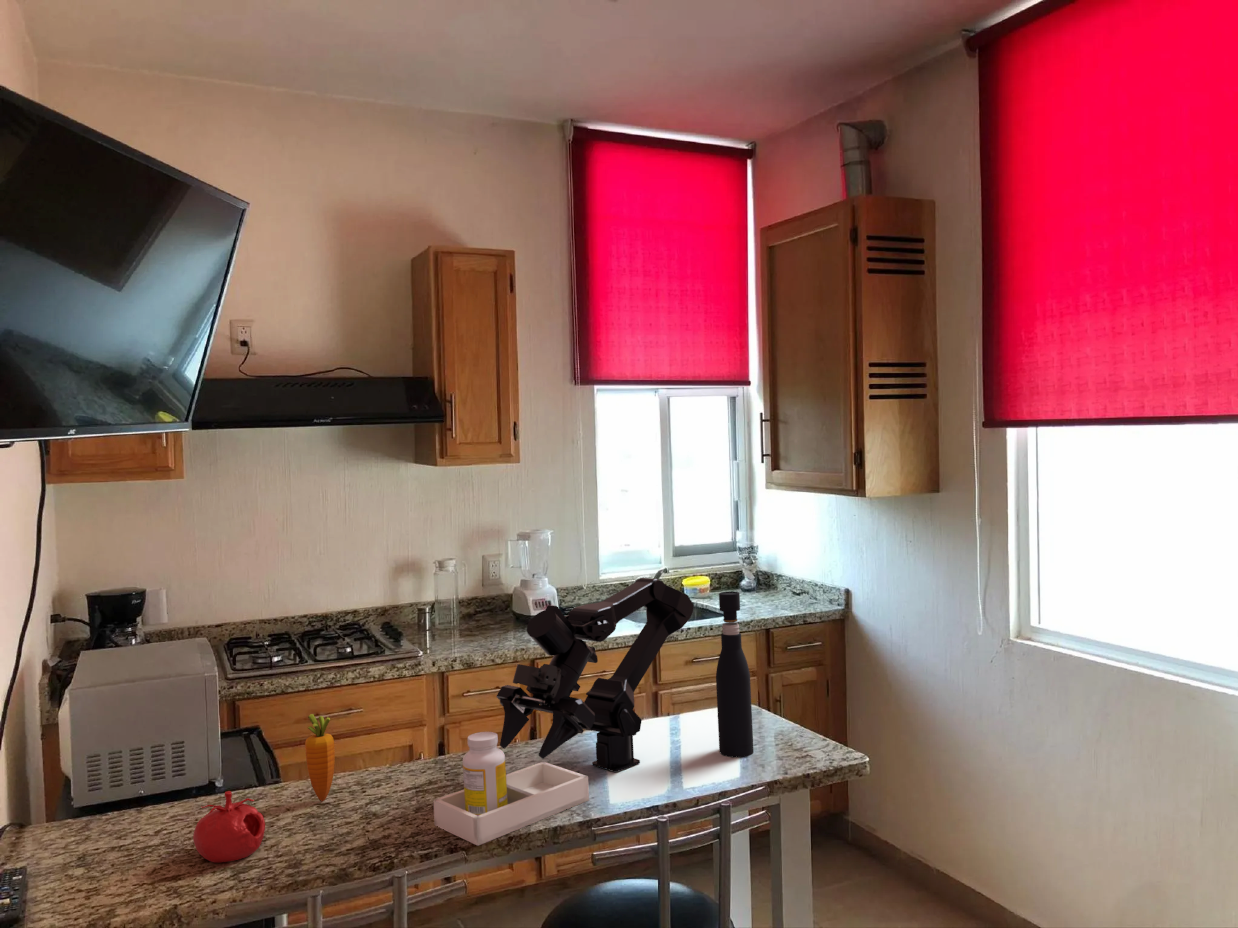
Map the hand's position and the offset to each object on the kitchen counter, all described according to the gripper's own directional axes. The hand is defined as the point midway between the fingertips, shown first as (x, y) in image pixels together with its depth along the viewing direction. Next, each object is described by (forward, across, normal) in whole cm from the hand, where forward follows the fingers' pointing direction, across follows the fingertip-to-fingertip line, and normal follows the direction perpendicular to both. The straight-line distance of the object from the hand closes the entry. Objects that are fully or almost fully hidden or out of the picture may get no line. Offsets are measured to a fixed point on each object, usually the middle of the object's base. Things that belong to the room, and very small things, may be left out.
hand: (521, 752), depth 149 cm
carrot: (+19, -31, -6) cm, 37 cm away
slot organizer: (+8, 0, +4) cm, 9 cm away
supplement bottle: (+11, 0, 0) cm, 11 cm away
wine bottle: (-23, +14, +36) cm, 45 cm away
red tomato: (+33, -24, -20) cm, 45 cm away
